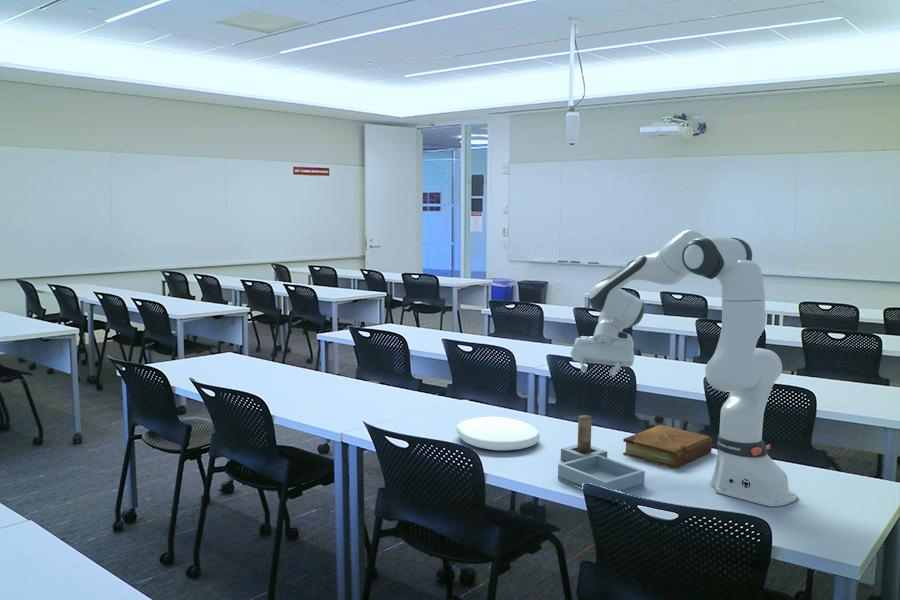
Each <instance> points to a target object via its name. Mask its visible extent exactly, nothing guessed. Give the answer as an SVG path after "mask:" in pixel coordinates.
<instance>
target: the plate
mask: <svg viewBox="0 0 900 600" xmlns="http://www.w3.org/2000/svg"><path fill="white" fill-rule="evenodd" d="M456 433H457V435H458V437H459V438H460V439H461V440H462V441H463V442H465V443H466V444H469V445H471V446H474V447H476V448H480V449H485V450H491V451H497V452H499V451H513V450H514V451H515V450H521V449H526V448H529V447H532V446H534V445H536V444H537V443H539V441H540V439H541V434H540V432H539V431H538V429H537V428H536V427H534V426H533V425H532V424H529V423H527V422H525V421H522V420H518V419H515V418H509V417H503V416H482V417H481V416H480V417H474V418H473V417H472V418H470V419H465V420H462V421H461V422H459V423H458V424H457V426H456Z"/></svg>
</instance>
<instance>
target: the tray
mask: <svg viewBox="0 0 900 600" xmlns="http://www.w3.org/2000/svg"><path fill="white" fill-rule="evenodd" d="M557 465H558V466H557V480H558V479H559V481H561V482H564V483H566V484H568V483H569V485H570V484H571V485H570V486H573V485H574V486H573V487H575V486H577V487H576V488H578V487H580V488H582V484H583V483H592V484H595V485H598V486H602V487H605V488H608V489H612V490H617V491H621V492H625V493H624V494H626V493H628V491H629V492H631V491H636V490H639V489H641V488H644V487H645V478H646V477H645V475H646V474H645V473H646V471H645V470H643V469H640V468H637V467H634V466H631V465H629V464H625V463H623V462H620V461H617V460H615V459H612V458H609V457H607V458H606V457H604V456H601V455H598V454H595V455H591V456H587V457H584V458H580V459H576V460H572V461H568V462H566V461H564V462H561V463H558V464H557ZM580 488H579V489H580Z"/></svg>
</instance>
